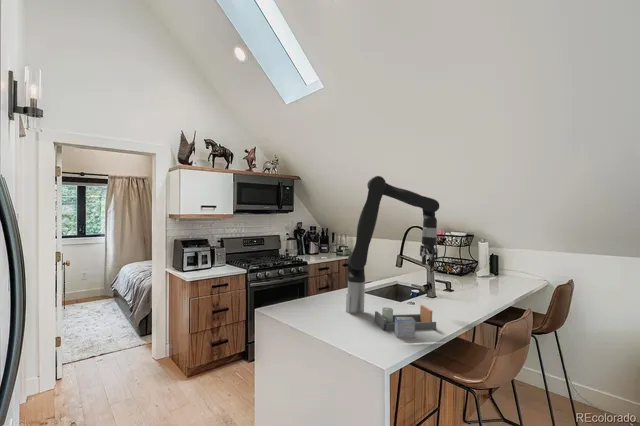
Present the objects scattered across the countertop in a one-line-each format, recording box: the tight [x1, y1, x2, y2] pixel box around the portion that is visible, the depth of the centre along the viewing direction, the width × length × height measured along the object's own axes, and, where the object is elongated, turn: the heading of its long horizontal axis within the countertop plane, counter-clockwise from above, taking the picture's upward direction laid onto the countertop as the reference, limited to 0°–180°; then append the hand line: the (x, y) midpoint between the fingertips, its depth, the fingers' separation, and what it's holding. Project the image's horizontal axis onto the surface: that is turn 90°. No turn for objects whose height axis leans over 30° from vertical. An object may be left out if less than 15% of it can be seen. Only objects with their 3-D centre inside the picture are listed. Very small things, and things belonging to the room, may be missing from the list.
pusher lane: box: [374, 310, 437, 332], centre depth 158 cm, size 26×12×6 cm, turn 100°
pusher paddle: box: [419, 304, 433, 322], centre depth 160 cm, size 1×10×8 cm, turn 10°
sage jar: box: [381, 307, 394, 323], centre depth 157 cm, size 5×5×8 cm
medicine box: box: [394, 317, 416, 339], centre depth 144 cm, size 8×4×9 cm, turn 92°
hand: (427, 265), depth 177 cm, fingers open, 8 cm apart
